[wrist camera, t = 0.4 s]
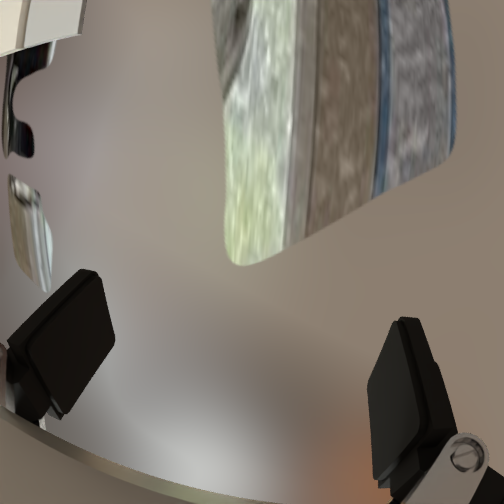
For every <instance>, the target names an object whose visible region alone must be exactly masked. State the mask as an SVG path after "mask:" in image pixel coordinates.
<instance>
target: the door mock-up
mask: <svg viewBox="0 0 504 504" xmlns="http://www.w3.org/2000/svg"><path fill="white" fill-rule="evenodd" d="M86 2H87V0H0V57H2V56H5V55H8V54H10V53H13V52H17V51H20V50H23V49H26V48H29V47H33V46H36V45H40V44H43V43H47V42H51V41H55V40H59V39H63V38H68V37H72V36H77V35H81V34H82V28H83V20H84V14H85V8H86Z"/></svg>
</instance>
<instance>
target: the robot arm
mask: <svg viewBox="0 0 504 504" xmlns="http://www.w3.org/2000/svg"><path fill="white" fill-rule="evenodd" d="M7 342H8V344H9V346H10V348H9V349H8V350H7V349H6V347H5V346H4V345H3V344H2V343H0V504H280V503H272V502H264V501H257V500H250V499H244V498H239V497H234V496H228V495H223V494H218V493H214V492H209V491H205V490H201V489H196V488H192V487H189V486H185V485H181V484H178V483H174V482H171V481H167V480H164V479H161V478H157V477H154V476H151V475H148V474H145V473H142V472H139V471H136V470H133V469H130V468H128V467H125V466H123V465H120V464H117V463H115V462H112V461H110V460H107V459H105V458H102V457H100V456H97V455H95V454H93V453H91V452H88V451H86V450H84V449H82V448H79V447H77V446H75V445H73V444H71V443H69V442H67V441H65V440H63V439H61V438H59V437H57V436H55V435H53V434H51V433H49V432H47V431H46V428H45V421H44V415H45V413H46V412H47V413H48V414H49V415H50V416H53V417H54V418H56V419H58V420H61V419H62V417H63V416H64V414H68V413H69V412H70V410H71V408H72V407H73V406H74V404H75V402H76V401H77V399H78V398H79V396H80V395H81V393H82V392H83V390H84V389H85V387H86V386H87V384H88V383H89V381H90V380H91V378H92V377H93V375H94V374H95V372H96V371H97V369H98V368H99V366H100V365H101V364H102V362H103V361H104V359H105V358H106V356H107V355H108V353H109V352H110V350H111V349H112V348H113V346H114V343H115V334H114V330H113V326H112V322H111V318H110V314H109V310H108V306H107V302H106V297H105V292H104V288H103V283H102V279H101V278H100V277H99V276H98V274H97V272H95V271H91V270H86V269H80V270H78V272H76V273H75V274H74V275H73V276H72V277H71V278H70V279H68V280H67V281H66V282H65V283H64V284H63V285H62V286H61V287H60V288H59V289H58V290H57V291H56V292H55V293H53V295H51V296H50V297H49V298H48V299H47V300H46V301H45V302H44V303H43V304H42V305H41V306H40V307H39V308H38V309H37V310H36V311H35V312H34V313H33V314H32V315H31V316H30V317H29V318H28V319H27V320H26V321H25V322H24V323H23V324H22V325H21V326H20V327H19V328H18V329H17V330H16V331H15V332H14V333H13V334H12V335H11V336H10V338H9V339H8V340H7ZM367 393H368V404H369V416H370V429H371V445H372V465H373V478H374V480H378V488H390V493H391V496H392V498H391V499H390V500H389V501H388V503H387V504H504V477H503V476H502V475H500V474H499V473H497V472H496V471H495V470H493V469H492V468H490V467H489V466H488V462H489V452H488V449H487V446H486V445H485V443H484V442H483V441H482V440H481V439H480V438H479V437H478V436H476V435H473V434H471V433H459V434H458V431H457V427H456V423H455V419H454V416H453V412H452V408H451V405H450V401H449V398H448V394H447V391H446V388H445V385H444V381H443V378H442V375H441V372H440V369H439V366H438V364H437V363H436V362H435V361H434V359H433V356H432V353H431V350H430V347H429V344H428V341H427V339H426V336H425V333H424V330H423V328H422V325H421V322H420V320H419V319H418V318H412V317H400V318H399V320H398V321H394V322H393V323H392V325H391V328H390V330H389V333H388V336H387V338H386V340H385V343H384V345H383V348H382V350H381V353H380V355H379V357H378V360H377V362H376V364H375V367H374V369H373V371H372V374H371V376H370V378H369V380H368V385H367Z"/></svg>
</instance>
